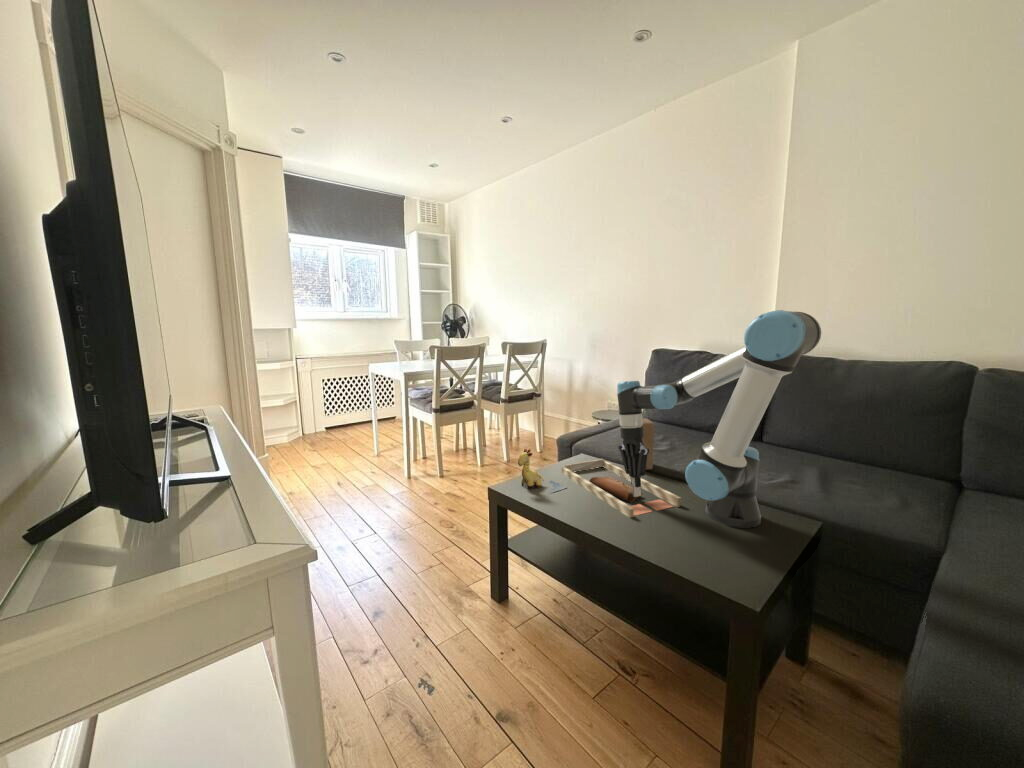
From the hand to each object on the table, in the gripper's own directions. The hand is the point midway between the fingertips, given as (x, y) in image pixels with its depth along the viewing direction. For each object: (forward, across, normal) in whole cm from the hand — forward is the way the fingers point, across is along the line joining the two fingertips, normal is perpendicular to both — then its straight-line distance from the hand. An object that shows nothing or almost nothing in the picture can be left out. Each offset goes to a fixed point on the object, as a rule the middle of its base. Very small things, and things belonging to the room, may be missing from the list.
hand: (636, 496), depth 136 cm
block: (-2, +27, -24) cm, 37 cm away
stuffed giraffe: (-2, +24, +26) cm, 36 cm away
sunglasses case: (+1, +10, 0) cm, 10 cm away
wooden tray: (0, +12, 0) cm, 12 cm away
